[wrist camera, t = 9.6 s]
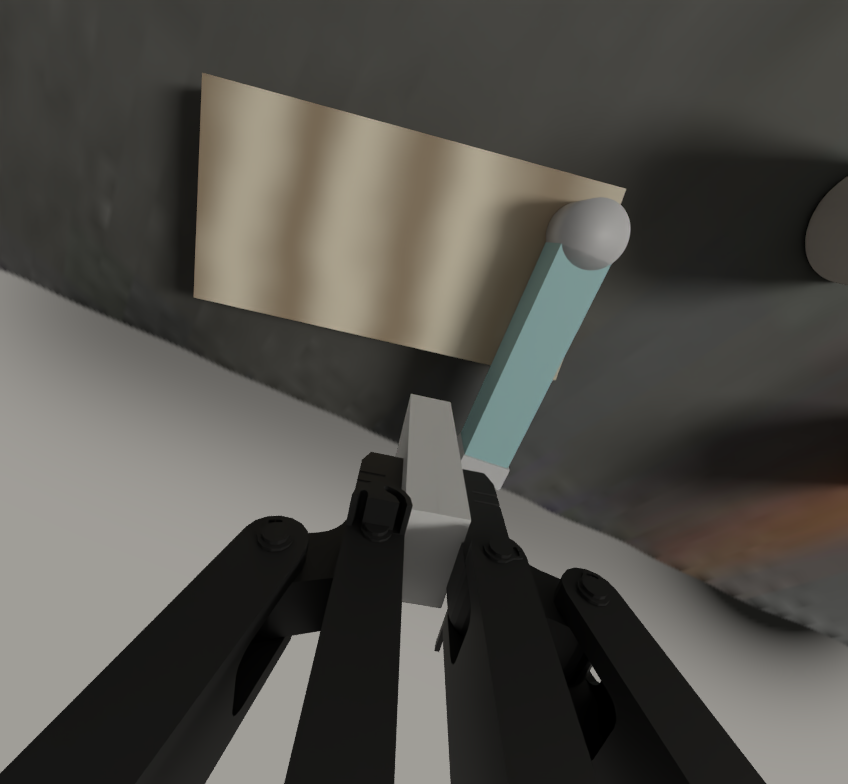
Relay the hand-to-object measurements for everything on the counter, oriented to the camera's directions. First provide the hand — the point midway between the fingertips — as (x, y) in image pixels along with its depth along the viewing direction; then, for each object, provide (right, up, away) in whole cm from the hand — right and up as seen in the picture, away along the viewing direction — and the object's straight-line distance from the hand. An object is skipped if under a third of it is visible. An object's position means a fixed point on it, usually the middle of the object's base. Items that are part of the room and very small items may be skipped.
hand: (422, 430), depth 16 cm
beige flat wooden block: (-1, +11, +12) cm, 17 cm away
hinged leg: (+7, +5, +12) cm, 14 cm away
